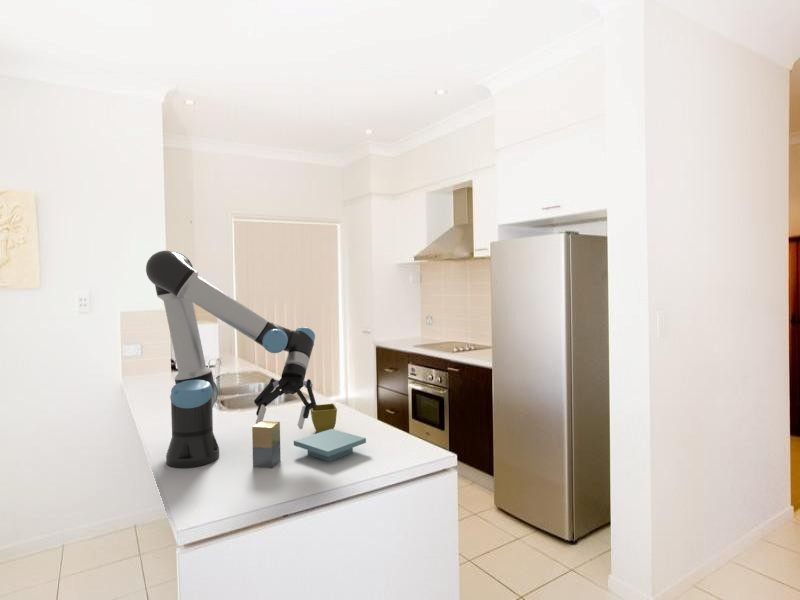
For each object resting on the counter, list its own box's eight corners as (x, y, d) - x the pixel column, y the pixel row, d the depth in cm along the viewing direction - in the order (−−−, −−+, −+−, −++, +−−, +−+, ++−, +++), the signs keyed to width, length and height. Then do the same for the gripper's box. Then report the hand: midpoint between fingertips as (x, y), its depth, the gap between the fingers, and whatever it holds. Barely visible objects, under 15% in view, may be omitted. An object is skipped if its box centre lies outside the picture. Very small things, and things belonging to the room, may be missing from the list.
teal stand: (293, 454, 158) (293, 440, 158) (331, 441, 171) (331, 428, 171) (328, 466, 148) (328, 451, 148) (366, 452, 160) (365, 438, 160)
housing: (253, 467, 148) (252, 426, 148) (262, 459, 154) (261, 421, 154) (272, 468, 147) (271, 427, 147) (280, 460, 153) (279, 421, 153)
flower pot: (312, 436, 177) (312, 411, 177) (310, 429, 185) (309, 405, 185) (337, 434, 179) (337, 409, 179) (334, 427, 188) (333, 403, 187)
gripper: (333, 375, 170) (320, 433, 156) (263, 373, 174) (245, 430, 160) (328, 362, 164) (314, 421, 151) (256, 361, 168) (236, 418, 155)
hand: (278, 426), depth 155 cm, fingers open, 13 cm apart
